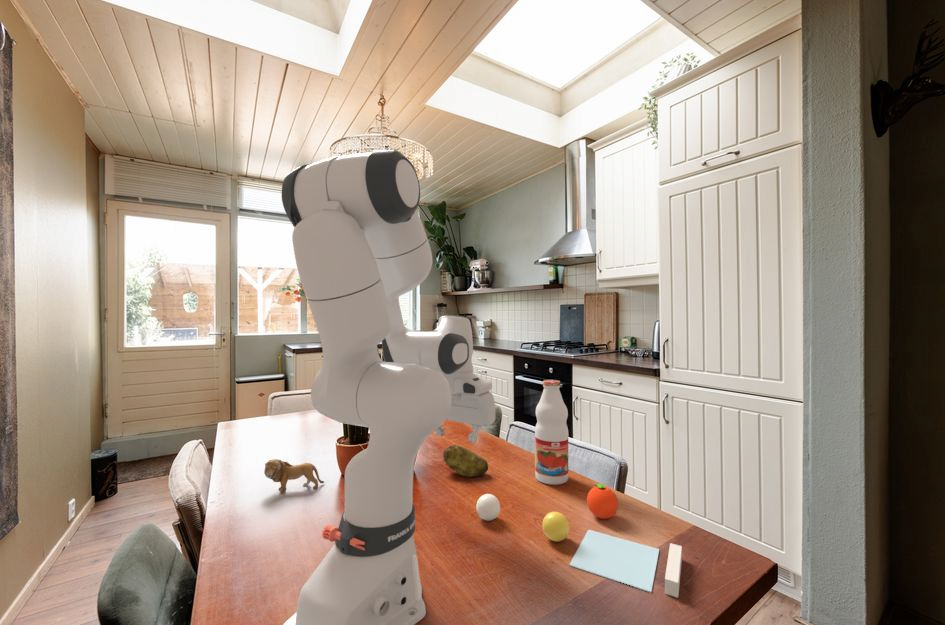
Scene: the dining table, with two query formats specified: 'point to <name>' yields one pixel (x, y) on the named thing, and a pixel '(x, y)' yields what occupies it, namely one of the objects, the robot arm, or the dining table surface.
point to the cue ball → (488, 507)
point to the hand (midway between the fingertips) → (456, 438)
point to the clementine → (602, 501)
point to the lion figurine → (290, 473)
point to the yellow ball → (555, 526)
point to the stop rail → (673, 570)
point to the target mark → (617, 559)
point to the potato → (465, 461)
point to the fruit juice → (551, 436)
